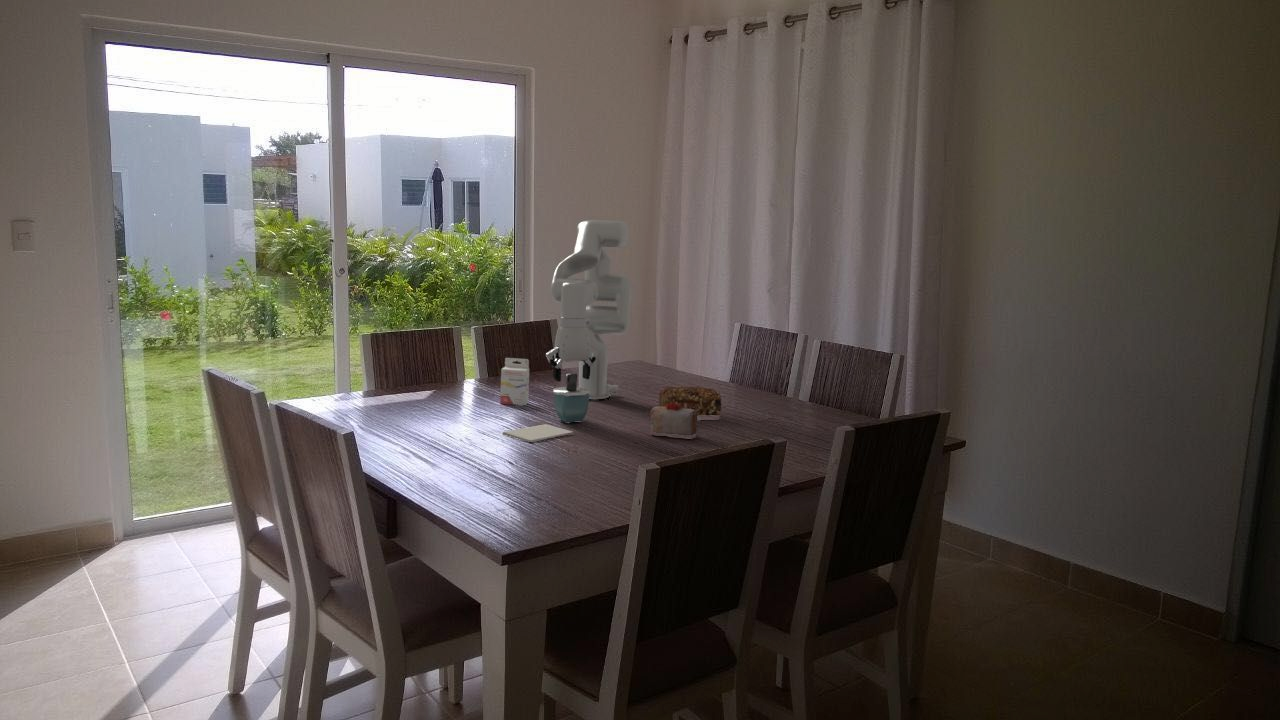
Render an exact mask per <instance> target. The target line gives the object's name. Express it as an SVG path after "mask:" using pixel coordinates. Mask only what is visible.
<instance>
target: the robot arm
mask: <svg viewBox="0 0 1280 720" xmlns="http://www.w3.org/2000/svg"><path fill="white" fill-rule="evenodd" d="M576 231H577V237H576V241H575V245H574V249H573V253H572V254H570V255H568V256H567V257H566V258H564V259H563V260H562V261H561V262H559V264H557V267H556V268H555V269H554V273H553V276H552V281H551V284H550V296H551V299H552V300H553V302H556V303H557V304H560V327H557V330H556V335H555V339H554V348H552V349H550V350H549V351H548V352H546V353H545V357H546V359H547V362H548V363H549V364H550V365H551V367H552V368H553V369H552V370H553V371H552V373H553V380H554V381H556V382H558V383H559V382H561V379H562V368H560V367H561V366H562V364H563V363H565V362H567V363H568V362H578V363H579V365H578V387H580V388H586V389H588V390H589V395H590V396H589V399H593V398H594V399H597V398H606V397H609V396H610V397H611V393H610V392H612V391H613V392H614V391H619V390H620V389H619V385H618V384H613V385H612V384H609V383H608V382H607V378H608V372H607V371H608V350H609V349H608V344H607V342H606V341H605V339H604V338H603V336H602V335H615V336H616V335H621V336H622V335H625V334H627V333H628V331H629V329H630V322H631V321H630V319H631V317H630V316H631V302H632V284H631V280H630V277H628V276H627V275H625V274H618V273H617V274H616V273H611V257H610V255H609V254H608V252H607V251H606V250H605V248H623V247H624V248H625V247H626V245H627V244H628V242H629V239H630V228H629V226H628V224H627V222H626V221H618V220H607V219H606V220H604V219H603V220H602V219H601V220H600V219H589V220H583V221H581V222H579V223H578V225H577V228H576ZM581 273H584V279H580V278H579V279H578V278H569V277H572V276H573V275H577V274H581ZM595 302H600V303H603V302H605V303H606V302H607V303H614V304H616V305H615V306H614V305H613V306H612V305H597V304H594V303H595ZM593 304H594V305H593ZM554 359H555V360H554Z"/></svg>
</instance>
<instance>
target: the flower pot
mask: <svg viewBox="0 0 1280 720" xmlns="http://www.w3.org/2000/svg"><path fill="white" fill-rule="evenodd" d="M552 393H553V392H552ZM589 396H590V395H589V394H588V395H586V396H578V397H569V396H560V395H556V394H554V393H553V405H554V408H555V412H556V415H557V417H558V419H559V420H560V419H561V420H562V421H561V420H560V421H561V422H563V421H564V422H575V421H582V422H583V420H584V419H585V417H586V415H587V412H588V408H589V402H590V400H589ZM564 422H563V423H564Z"/></svg>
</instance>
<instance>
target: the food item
mask: <svg viewBox="0 0 1280 720" xmlns="http://www.w3.org/2000/svg"><path fill="white" fill-rule="evenodd" d="M649 413H650V417H651V424H650V432H651V431H652V432H656V433H666V434H678V435H693V434H695V433H696V431H697V428H698V421H697V416H698V411H697V410H694V409H686V408H682V407H681V405H679V404H677V402H676V403H675V404H673V403H670V404H668V406H667V407H660V406H658V405H657V406H653V407H652V409H650V412H649ZM697 432H698V431H697Z"/></svg>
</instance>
